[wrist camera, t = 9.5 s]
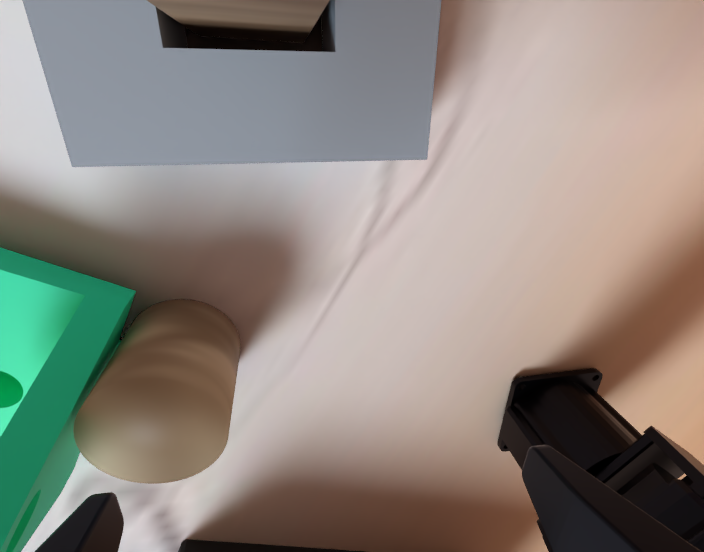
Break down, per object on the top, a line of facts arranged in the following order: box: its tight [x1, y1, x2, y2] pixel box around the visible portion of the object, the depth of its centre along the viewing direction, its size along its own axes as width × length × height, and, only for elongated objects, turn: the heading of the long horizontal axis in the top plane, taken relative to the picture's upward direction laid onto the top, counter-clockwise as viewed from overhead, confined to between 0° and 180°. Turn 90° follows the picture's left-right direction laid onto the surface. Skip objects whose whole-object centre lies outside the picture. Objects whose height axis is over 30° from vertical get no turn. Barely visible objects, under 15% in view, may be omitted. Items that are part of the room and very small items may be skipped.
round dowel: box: [73, 299, 240, 484], centre depth 18 cm, size 6×6×6 cm
